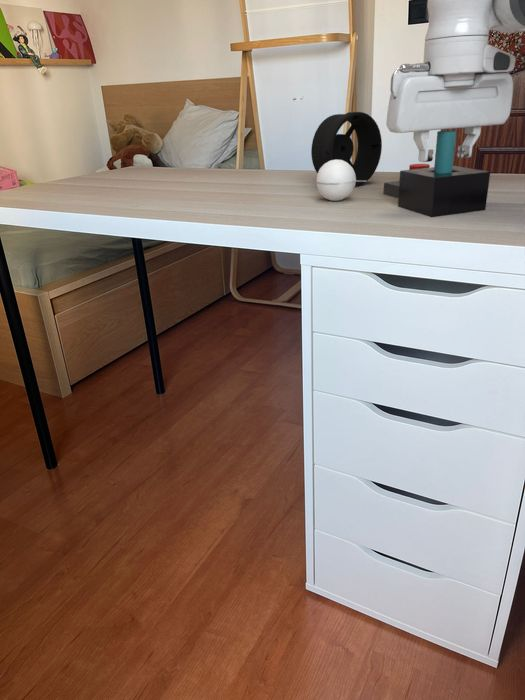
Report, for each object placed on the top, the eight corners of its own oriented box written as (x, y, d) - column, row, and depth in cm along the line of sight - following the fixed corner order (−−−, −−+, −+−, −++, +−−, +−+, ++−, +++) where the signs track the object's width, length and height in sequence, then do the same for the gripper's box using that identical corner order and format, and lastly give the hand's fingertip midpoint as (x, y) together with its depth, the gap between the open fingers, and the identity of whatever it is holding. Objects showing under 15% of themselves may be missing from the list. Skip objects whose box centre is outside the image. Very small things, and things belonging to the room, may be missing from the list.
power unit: (428, 189, 105) (429, 168, 103) (452, 195, 98) (455, 172, 96) (383, 194, 102) (384, 172, 100) (405, 200, 95) (407, 177, 94)
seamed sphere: (307, 201, 99) (307, 160, 96) (335, 195, 103) (335, 156, 100) (347, 207, 92) (347, 164, 89) (374, 201, 96) (376, 158, 93)
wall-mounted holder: (350, 110, 116) (383, 109, 108) (348, 178, 122) (380, 182, 114) (298, 114, 108) (330, 114, 101) (300, 187, 115) (330, 192, 107)
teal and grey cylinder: (441, 206, 89) (449, 130, 84) (451, 209, 87) (460, 130, 82) (427, 208, 89) (433, 131, 83) (437, 211, 86) (444, 132, 81)
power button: (421, 172, 100) (422, 163, 100) (432, 175, 97) (433, 165, 97) (405, 174, 100) (405, 164, 99) (415, 176, 96) (416, 166, 96)
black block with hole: (447, 200, 93) (451, 165, 91) (485, 210, 85) (490, 171, 82) (397, 207, 91) (399, 170, 88) (431, 217, 82) (435, 177, 80)
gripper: (403, 62, 73) (397, 167, 79) (525, 57, 78) (510, 155, 84) (381, 65, 78) (377, 163, 84) (495, 60, 84) (484, 152, 90)
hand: (444, 159), depth 84 cm, fingers open, 6 cm apart
